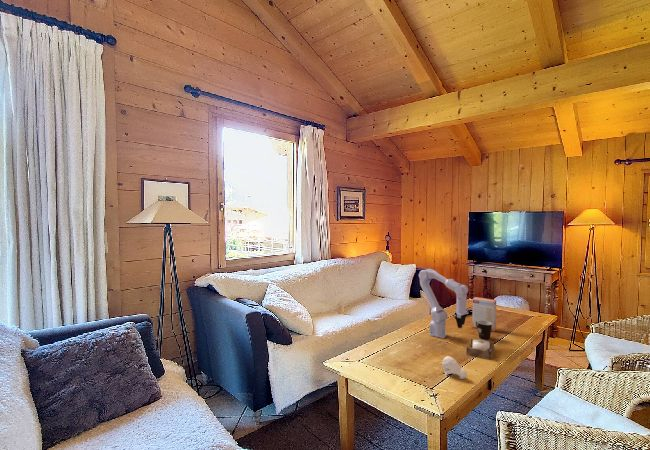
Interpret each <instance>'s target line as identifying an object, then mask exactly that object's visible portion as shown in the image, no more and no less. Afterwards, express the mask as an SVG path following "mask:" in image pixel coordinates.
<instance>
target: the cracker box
mask: <svg viewBox="0 0 650 450" xmlns="http://www.w3.org/2000/svg"><path fill="white" fill-rule="evenodd" d="M477 321H488V322H491V323H492V328H491V333H494V332H495V331H497V299H491V298H485V297H478V296H474V297H473V298H472V322H471V323H472V328H474V329H478V328H477V326H478V324H477V326H476V322H477Z"/></svg>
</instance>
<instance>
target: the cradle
mask: <svg viewBox="0 0 650 450" xmlns="http://www.w3.org/2000/svg"><path fill="white" fill-rule="evenodd" d="M473 340H475V339H473V338H471V339H470V346H466V353H465V354H466V355H469V356H472V357H478V358H482V359H487V360H492V358H493V355H494V352H495V343H494V342H492V341H491V340H487V341H488V342H489V343H490V350H489V351H488V349H485V350H481V349H476V348H472V345H473Z"/></svg>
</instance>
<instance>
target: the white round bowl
mask: <svg viewBox="0 0 650 450" xmlns="http://www.w3.org/2000/svg"><path fill="white" fill-rule="evenodd" d="M488 341H489V340H483V339H480V338H479V339H474V340H473V345H472V346H471V348H476V349H481V350H485V349H488V351H489V350H490V343H489V342H488Z"/></svg>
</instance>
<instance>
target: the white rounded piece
mask: <svg viewBox="0 0 650 450" xmlns="http://www.w3.org/2000/svg"><path fill="white" fill-rule="evenodd" d="M441 365H442V368H443V372H444V374H445V376H448V375H451V374H453V375H457V376H458V377H459V379H460V380H461V379H462V380H465V378H467V377H468V373H467V371H466V370H465V369H463V368H461V366H460V364H459V363H458V361H457V360H456V359H455V358H454V357H451V356H449V355H447V356H445V357H444V358H443V359H442V363H441Z"/></svg>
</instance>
